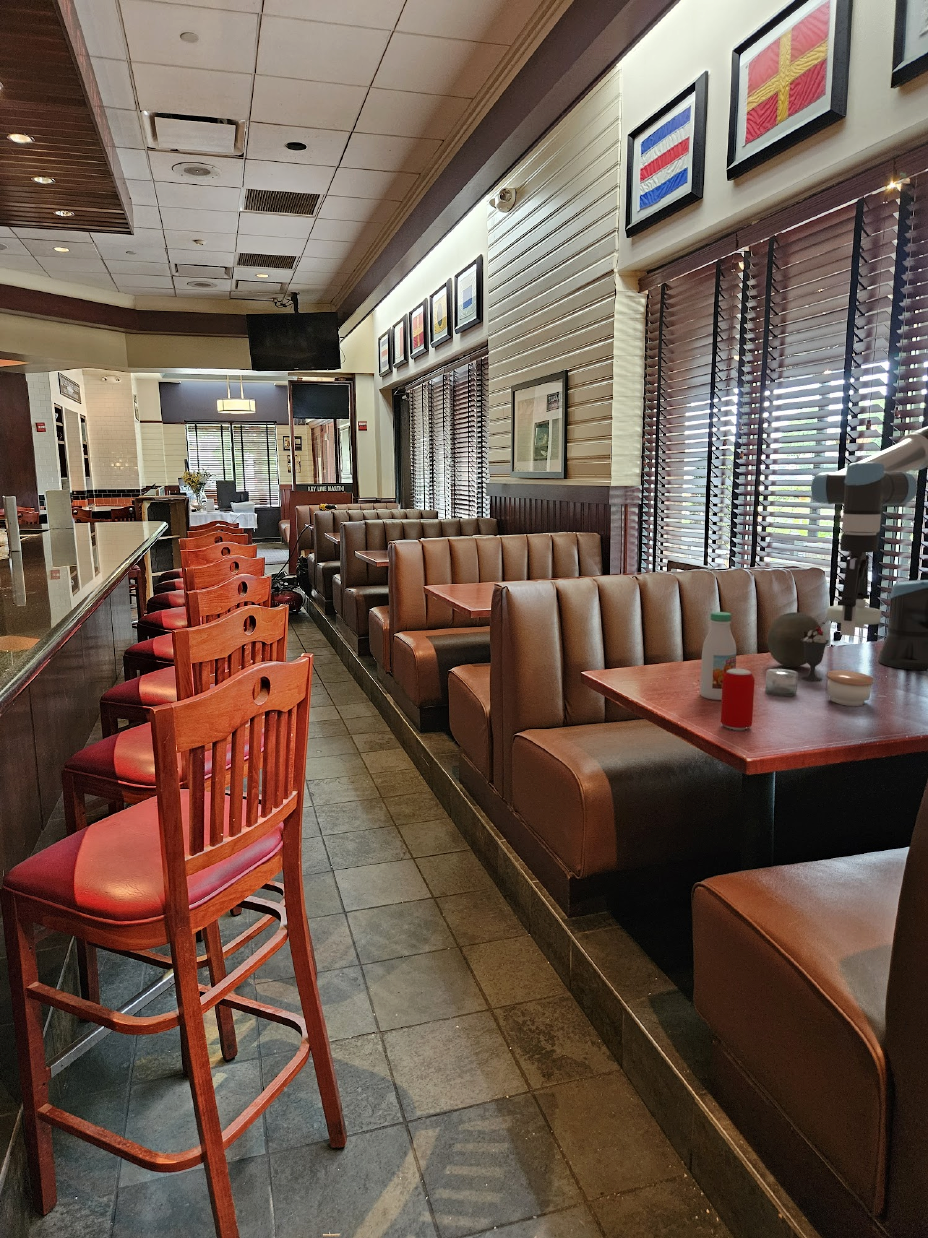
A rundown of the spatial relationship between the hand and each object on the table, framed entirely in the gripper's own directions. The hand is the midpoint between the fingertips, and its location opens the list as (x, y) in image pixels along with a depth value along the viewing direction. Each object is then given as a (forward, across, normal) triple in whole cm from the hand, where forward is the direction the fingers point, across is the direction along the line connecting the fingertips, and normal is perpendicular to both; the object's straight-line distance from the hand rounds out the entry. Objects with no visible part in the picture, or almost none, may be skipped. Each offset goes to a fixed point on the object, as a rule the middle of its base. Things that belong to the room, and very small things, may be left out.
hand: (852, 631), depth 181 cm
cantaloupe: (+17, -28, -18) cm, 37 cm away
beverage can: (+17, +33, -15) cm, 40 cm away
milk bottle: (+17, +12, -26) cm, 33 cm away
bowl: (+16, 0, 0) cm, 16 cm away
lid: (-3, 0, 0) cm, 3 cm away
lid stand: (+17, 0, -14) cm, 22 cm away
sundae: (+17, -18, -11) cm, 27 cm away
